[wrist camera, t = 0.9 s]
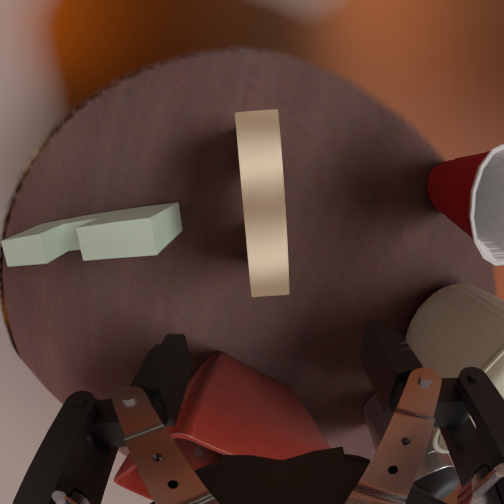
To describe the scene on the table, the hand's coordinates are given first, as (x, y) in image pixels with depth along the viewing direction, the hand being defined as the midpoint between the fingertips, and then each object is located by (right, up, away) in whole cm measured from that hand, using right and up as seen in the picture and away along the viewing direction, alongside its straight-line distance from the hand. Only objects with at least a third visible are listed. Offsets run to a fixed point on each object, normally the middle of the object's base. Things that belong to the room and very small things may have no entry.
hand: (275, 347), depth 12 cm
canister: (+25, -6, +20) cm, 33 cm away
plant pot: (-4, -16, +25) cm, 30 cm away
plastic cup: (+21, +12, +15) cm, 28 cm away
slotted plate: (0, +10, +16) cm, 19 cm away
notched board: (-18, +7, +17) cm, 26 cm away
